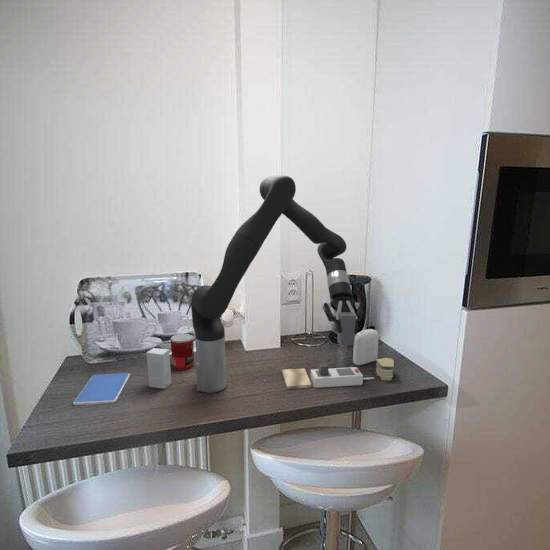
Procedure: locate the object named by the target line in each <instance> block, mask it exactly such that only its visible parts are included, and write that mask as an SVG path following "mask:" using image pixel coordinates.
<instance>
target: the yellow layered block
mask: <svg viewBox="0 0 550 550" xmlns="http://www.w3.org/2000/svg"><path fill="white" fill-rule="evenodd" d="M375 361H376V363H375V366H376V368H375V371H376V376H377V377H379V378H380V380H381V381H392V379H393V377H394V367H395V365H394V363H395V360H394V359H393V358H390V357H382V358H377V360H375Z"/></svg>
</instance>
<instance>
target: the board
mask: <svg viewBox="0 0 550 550" xmlns="http://www.w3.org/2000/svg"><path fill="white" fill-rule="evenodd" d="M281 372H282V377H283V380H284V384H285V386H286V389H287V390H291V389H292V390H293V389H309V388H312V386H313V383H312V381H311V379H310V377H309V375H308V373H307V371H306V369H305V368H292V369H291V368H288V369H282V370H281Z"/></svg>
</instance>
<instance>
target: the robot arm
mask: <svg viewBox="0 0 550 550" xmlns="http://www.w3.org/2000/svg"><path fill="white" fill-rule="evenodd" d="M296 190H297V188H296V182H295V181H294V179H293V178H292V177H291V176H288V175H285V174H284V175H282V174H281V175H270V176H267V177H265V178H263V180H262V181H261V182H260V184H259V194H260V196H261V198H262V199H263V202H262V204H261V205H260V206H259V208H258V209H257V210H256V212H254V213H253V214H252V215H251V216H250V217H249V218H248V219H246V220H245V221H244V223H242V224H241V225H240V226H239V228H238V229H237V230H236V231H235V233H234V235H233V236H232V237H231V240H230V241H229V242H228V244H227V247H226V249H225V253H224V256H223V262H222V266H221V268H220V271H219V273H218V275H217V277H216V278H215V280H214V282H213V283H212V284H211V285H209V284H208V285H207V284H205V285H200V286H198V287H197V288H195V290H194V291H193V293H192V295H191V298H190V299H191V302H190V307H191V309H190V310H191V321H192V327H193V331H194V337H195V352H196V353H195V355H196V357H195V358H196V360H195V361H196V362H195V371H196V372H195V373H196V391H197V392H202V393H207V394H208V393H209V394H211V393H218V392H220V391H222V390H224V389H225V388H226V387H227V364H226V362H227V361H226V335H225V334H226V333H225V331H226V330H225V327H224V323H222V320H221V317H222V316H223V315H224V314H225V312H226V311H227V309H228V307H229V305H230V302H231V301H232V300H233V299H232V298H233V296H234V294H235V293H236V290H237V288H238V286H239V284H240V282H241V280H242V279H243V277H244V276H245V274H246V272H247V271H248V269H249V267H250V266H251V263H252V262H253V261H254V259H255V258H256V256H257V255H258V253H259V251H260V250H261V248H262V246H263V245H264V242H265V241H266V239H267V237H268V236H269V234H270V233H271V231H272V229H273V228H274V226H275V224H276V222H277V221H278V219H279V218H280V217H281V216H282V215H283V216H285V217H286V218H287V219H288V220H289V221H290V222H291V223H293V224H294V225H295V226H296V227H297V228H298V230H300V231H301V233H303V234H304V236H306V237H307V238H308V239H309V241H311V242H312V243H313V244H315V245H317V255H319V258H320V260H321V261H322V263H323V266H324V267H325V272H326V279H327V282H326V283H327V288H328V293H329V294H328V295H329V299H330V302H328V303H327V302H324V303H323V306H322V310H323V312H324V313H325V315H326V316H325V317H327V320H328V322H333V323H334V326H335V331H336V332H337V334H338V333H341V332H342V328H341V322H340V320H339V319H340V316H339V313H341V312H351V313H354V314H355V315H356V322H355V334H357V333H358V330H359V322H360V321H361V320H362V318H363V313H364V302H363V301H359V302H357V301H356V300H355V299H354V297H353V290H352V287H351V282H350V278H349V276H348V273H347V268H346V263H345V261H344V260H343V258H339V257H338V256H341V255H342V254H344V253H345V252H346V250H347V243H346V240H344V238H343V237H342V236H340V235H339V234H337V233H336V232H334V231H332V230H330V229H329V228H328V227H326V226H325V225H324V224H323V223H322V221H320V219H319V218H318V217H317V216H315V215H314V214H313V213H311V212H310V211H309V210H307V208H304V207H303V206H302V205H300V204H299V203H297V201H295V200H294V197H295V195H296ZM354 307H355V309H356V310H357V313H356V311H355V309H354ZM331 308H332V310H334V312H335V313H334V314H333V312H332V311H331Z"/></svg>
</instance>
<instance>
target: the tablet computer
mask: <svg viewBox="0 0 550 550" xmlns="http://www.w3.org/2000/svg"><path fill="white" fill-rule="evenodd" d="M130 376H131V374H130V373H129V372H126V373H125V372H124V373H123V372H122V373H108V374H107V373H106V374H103V373H102V374H94V375H92V376H91V378H90V379H89V380H88V381H87V383H86V385H85V386H84V387H83V388H82V389H81V391H80V392H79V394H78V395H77V397H76V398H75V399H74V401H73V402H72V405H73V406H87V405H88V406H89V405H90V406H91V405H100V404H101V405H102V404H104V405H105V404H113V403H115V402H117V400H118V398H119V396H120V394H121V392H122V391H123V389H124V387H125V385H126V383H127V381H128V380H129V378H130Z"/></svg>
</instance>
